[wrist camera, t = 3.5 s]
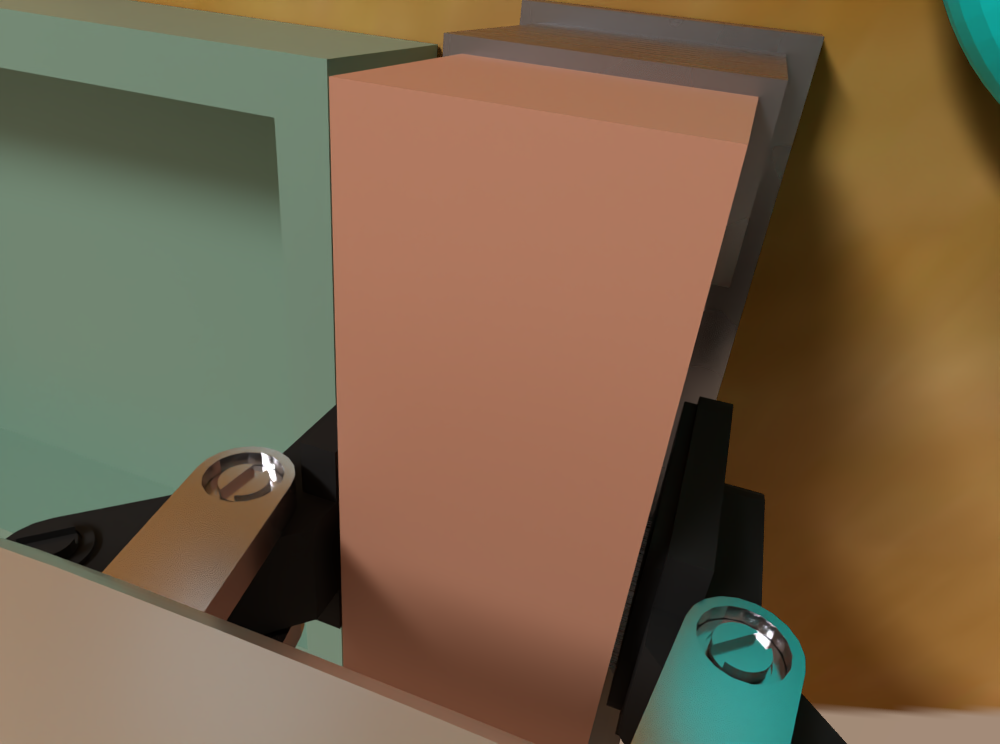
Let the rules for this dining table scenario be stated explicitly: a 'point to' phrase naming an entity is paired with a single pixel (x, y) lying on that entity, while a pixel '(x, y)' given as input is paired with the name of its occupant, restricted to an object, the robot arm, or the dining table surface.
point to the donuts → (979, 37)
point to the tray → (163, 247)
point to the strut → (512, 366)
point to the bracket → (693, 63)
